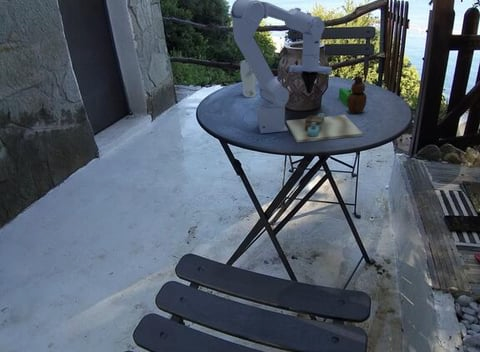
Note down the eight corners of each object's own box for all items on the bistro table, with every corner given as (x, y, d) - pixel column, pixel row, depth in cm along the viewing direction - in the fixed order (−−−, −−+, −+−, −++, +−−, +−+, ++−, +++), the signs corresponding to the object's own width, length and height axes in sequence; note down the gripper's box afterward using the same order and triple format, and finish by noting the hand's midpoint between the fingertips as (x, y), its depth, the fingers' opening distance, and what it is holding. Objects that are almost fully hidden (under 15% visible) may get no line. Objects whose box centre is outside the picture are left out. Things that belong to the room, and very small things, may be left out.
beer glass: (239, 97, 164) (237, 63, 156) (244, 92, 169) (242, 59, 162) (255, 98, 162) (253, 63, 154) (259, 93, 167) (257, 59, 160)
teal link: (317, 136, 121) (318, 125, 119) (306, 135, 122) (307, 124, 120) (326, 118, 133) (327, 108, 131) (316, 118, 135) (317, 107, 133)
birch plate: (297, 142, 121) (297, 139, 120) (286, 123, 136) (286, 120, 135) (362, 136, 122) (362, 133, 122) (344, 117, 137) (344, 115, 136)
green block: (356, 107, 146) (357, 95, 144) (347, 107, 146) (348, 96, 144) (347, 97, 156) (348, 87, 154) (338, 98, 156) (339, 87, 153)
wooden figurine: (351, 115, 138) (355, 75, 130) (343, 110, 143) (347, 71, 135) (367, 113, 139) (372, 73, 132) (359, 108, 144) (363, 69, 137)
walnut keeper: (320, 132, 125) (321, 121, 123) (304, 130, 127) (305, 119, 125) (323, 127, 128) (324, 116, 126) (308, 125, 130) (308, 115, 128)
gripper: (334, 52, 127) (331, 90, 134) (293, 50, 132) (292, 87, 139) (330, 56, 121) (327, 96, 128) (287, 55, 127) (287, 93, 134)
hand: (309, 92), depth 133 cm, fingers closed
